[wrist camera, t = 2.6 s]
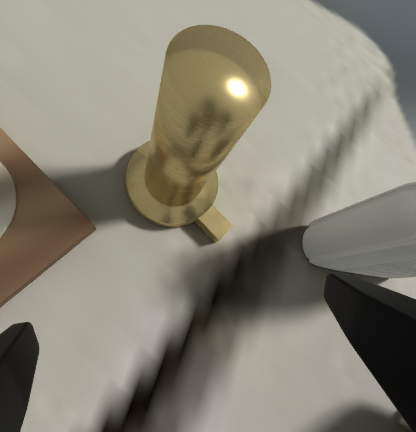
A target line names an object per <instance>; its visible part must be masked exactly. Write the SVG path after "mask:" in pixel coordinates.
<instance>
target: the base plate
mask: <svg viewBox="0 0 416 432" xmlns="http://www.w3.org/2000/svg"><path fill="white" fill-rule="evenodd" d="M95 230H96V227H95V226H94V225H93V224H92V223H91V221H90V220H89V219H88V218H87V217H86V216H85V215H84V214H83V213H82V212H81V211H80V210H79V209H78V208H77V207H76V206H75V205H74V204H73V203H72V202H71V201H70V200H69V199H68V198H67V197H66V196H65V195H64V193H63V192H62V191H61V190H60V189H59V188H58V187H57V186H56V185H55V184H54V183H53V182H52V181H51V180H50V179H49V178H48V177H47V176H46V175H45V174H44V173H43V172H42V171H41V170H40V169H39V168H38V166H37V165H36V164H35V163H34V162H33V161H32V160H31V159H30V158H29V157H28V156H27V155H26V154H25V153H24V152H23V151H22V150H21V149H20V148H19V147H18V146H17V145H16V144H15V143H14V142H13V141H12V140H11V138H10V137H9V136H8V135H7V134H6V133H5V132H4V131H3V130H2V129H1V128H0V307H2V306H3V305H4V304H5V303H7V302H8V301H9V300H10V299H11V298H13V297H14V296H15V295H16V294H18V293H19V292H20V291H21V290H22V289H24V288H25V287H26V286H27V285H29V284H30V283H31V282H32V281H34V280H35V279H36V278H37V277H38V276H40V275H41V274H42V273H43V272H45V271H46V270H47V269H48V268H50V267H51V266H52V265H53V264H54V263H56V262H57V261H58V260H59V259H61V258H62V257H63V256H64V255H66V254H67V253H68V252H69V251H70V250H72V249H73V248H74V247H75V246H77V245H78V244H79V243H80V242H82V241H83V240H84V239H85V238H86V237H88V236H89V235H90V234H91V233H93V232H94V231H95Z"/></svg>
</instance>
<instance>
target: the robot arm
mask: <svg viewBox="0 0 416 432" xmlns="http://www.w3.org/2000/svg"><path fill="white" fill-rule="evenodd" d="M324 297H325V300H326V302H327V304H328V306H329V308H330V309H331V311H332V313H333V315H334V316H335V318H336V320H337V322H338V323H339V325H340V327H341V329H342V330H343V332H344V334H345V336H346V337H347V339H348V340H349V342H350V343H351V345H352V346H353V348H354V349H355V351H356V352H357V354H358V355H359V356H360V358H361V359H362V361H363V362H364V364H365V365H366V366H367V368H368V369H369V371H370V372H371V373H372V375H373V376H374V378H375V379H376V380H377V382H378V383H379V385H380V386H381V388H382V389H383V390H384V392H385V393H386V395H387V396H388V397H389V399H390V400H391V402H392V403H393V404H394V406H395V407H396V409H397V410H398V412H399V413H400V414H401V416H402V417H403V419H404V420H405V421H406V423H407V424H408V426H409V427H410V428H411V430H412V431H413V432H416V299H413V298H411V297H408V296H405V295H403V294H400V293H397V292H395V291H392V290H389V289H387V288H384V287H381V286H379V285H376V284H373V283H370V282H368V281H365V280H362V279H360V278H357V277H354V276H352V275H349V274H346V273H344V272H341V271H338V272H332V273H329V274H328V275H327V277H326V283H325V290H324ZM38 355H39V343H38V340H37V337H36V335H35V332H34V329H33V326H32V324H31V323H29V322H24V323H18V324H13V325H12V326H10V327H9V328H8V329H6V330H5V331H4V332H3V333H1V334H0V432H20V430H21V427H22V424H23V420H24V417H25V414H26V410H27V406H28V402H29V398H30V393H31V388H32V383H33V379H34V374H35V369H36V365H37V360H38Z"/></svg>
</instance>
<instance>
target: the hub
mask: <svg viewBox="0 0 416 432" xmlns="http://www.w3.org/2000/svg"><path fill="white" fill-rule="evenodd" d="M270 91H271V77H270V73H269V69H268V67H267V64H266V62H265V60H264V59H263V57H262V56H261V54H260V53H259V52H258V50H257V49H256V48H255V47H254V46H253V45H252V44H251V43H250V42H249V41H247V40H246V39H245V38H243V37H242V36H240V35H239V34H237V33H235V32H233V31H231V30H228V29H226V28H222V27H219V26H213V25H197V26H192V27H189V28H186V29H184V30H182V31H181V32H179V33H178V34H177V35H176V36H175V37H174V38H173V39H172V40H171V42H170V44H169V46H168V48H167V51H166V56H165V61H164V67H163V73H162V78H161V84H160V89H159V95H158V101H157V106H156V112H155V117H154V123H153V129H152V134H151V140H150V141H149V142H146V143H145V144H143V145H142V146H141V147H139V148H138V149H137V150H136V151H135V152H134V154H133V155H132V157H131V158H130V161H129V163H128V166H127V170H126V191H127V195H128V198H129V200H130V202H131V204H132V205H133V207H134V208H135V210H136V211H137V212H138V213H139V214H140V215H141V216H142V217H144V218H145V219H146V220H148V221H150V222H152V223H154V224H157V225H159V226H164V227H182V226H186V225H189V224H191V223H193V222H195V223H196V224H197V225H198V226H199V227H200V228H201V229H202V230H203V231H204V232H205V234H206V235H207V236H208V237H209V238H210V239H211V240H212V241H213V242H214V243H216V242H217V241H219V240H220V239H221V238H222V237H223V236H224V235H225V234H226V233H227V232H228V231H229V230H230V229H231V228H232V227H233V226H232V225H231V224H230V223H229V221H228V220H227V219H226V218H225V217H224V216H223V215H222V214H221V213H220V212H219V211H218V210H217V209H216V208H215V207H214V206H213V205H212V204H213V202H214V200H215V198H216V195H217V190H218V177H217V173H216V170H217V169H218V167H219V166H220V165H221V163H222V162H223V161H224V159H225V158H226V157H227V155H228V154H229V152H230V151H231V150H232V148H233V147H234V146H235V144H236V143H237V142H238V140H239V139H240V138H241V136H242V135H243V133H244V132H245V131H246V129H247V128H248V127H249V125H250V124H251V123H252V121H253V120H254V119H255V117H256V116H257V114H258V113H259V112H260V110H261V109H262V108H263V106H264V105H265V103H266V102H267V100H268V98H269V95H270Z"/></svg>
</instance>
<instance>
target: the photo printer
mask: <svg viewBox="0 0 416 432" xmlns="http://www.w3.org/2000/svg"><path fill="white" fill-rule="evenodd" d="M302 245H303V250H304V253H305V255H306V257H307V258H308V259H309V262H310V263H312V264H314V265H317V266H320V267H324V268H328V269H333V270H339V271H344V272H350V273H355V274H362V275H368V276H375V277H384V278H405V277H416V182H413V183H408V184H405V185H402V186H399V187H397V188H394V189H392V190H389V191H387V192H384V193H381V194H379V195H376V196H374V197H371V198H369V199H366V200H364V201H361V202H359V203H356V204H353V205H351V206H349V207H346V208H343V209H341V210H339V211H336V212H334V213H331V214H329V215H326V216H324V217H321V218H319V219H316V220H314V221H312V222H311V223H309V228H307V229H306V231H305V232H304V235H303V240H302Z"/></svg>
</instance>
